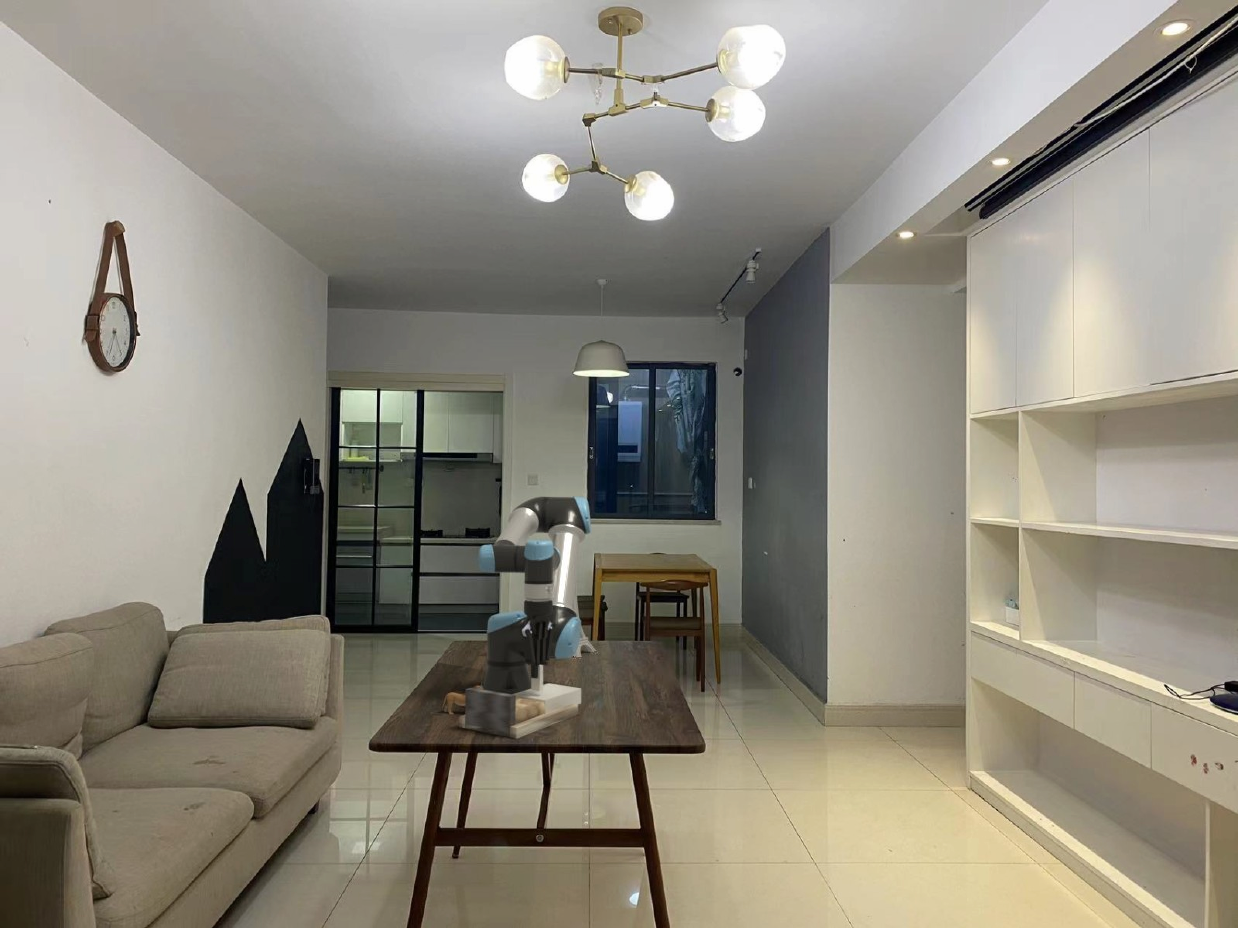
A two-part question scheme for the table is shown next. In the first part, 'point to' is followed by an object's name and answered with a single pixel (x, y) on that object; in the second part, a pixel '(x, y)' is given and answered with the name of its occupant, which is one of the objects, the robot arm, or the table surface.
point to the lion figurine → (455, 700)
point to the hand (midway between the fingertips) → (537, 690)
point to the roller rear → (538, 705)
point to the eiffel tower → (583, 638)
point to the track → (505, 714)
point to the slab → (553, 696)
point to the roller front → (520, 716)
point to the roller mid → (528, 710)
